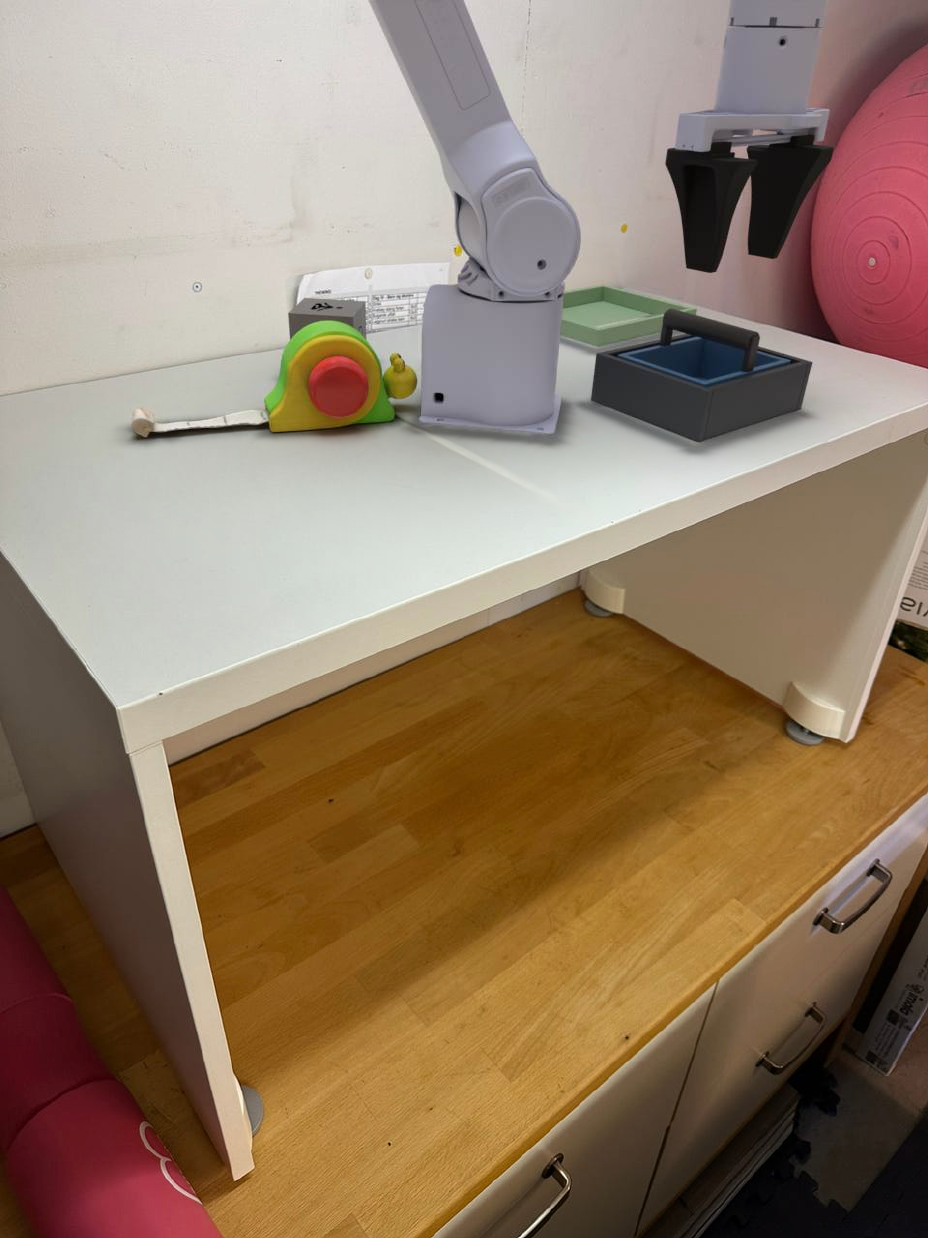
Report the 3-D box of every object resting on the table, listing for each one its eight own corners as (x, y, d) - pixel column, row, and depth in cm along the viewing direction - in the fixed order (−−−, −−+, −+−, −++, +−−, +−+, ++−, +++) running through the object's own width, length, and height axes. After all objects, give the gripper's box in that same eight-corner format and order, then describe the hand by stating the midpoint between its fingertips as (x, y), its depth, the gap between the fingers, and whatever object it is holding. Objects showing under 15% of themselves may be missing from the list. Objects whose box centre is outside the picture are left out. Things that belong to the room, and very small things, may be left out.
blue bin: (695, 433, 61) (712, 343, 58) (611, 400, 67) (622, 316, 63) (780, 406, 67) (800, 322, 64) (696, 378, 72) (710, 299, 69)
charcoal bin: (696, 448, 60) (707, 391, 58) (589, 406, 67) (595, 352, 65) (799, 414, 67) (813, 361, 65) (693, 378, 74) (701, 329, 71)
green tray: (596, 351, 79) (599, 329, 78) (504, 321, 87) (505, 301, 86) (693, 328, 87) (697, 308, 86) (601, 302, 95) (603, 284, 94)
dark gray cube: (308, 359, 74) (304, 297, 72) (367, 363, 74) (365, 301, 71) (292, 377, 70) (288, 312, 67) (355, 381, 70) (353, 316, 67)
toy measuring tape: (427, 429, 62) (429, 333, 58) (133, 451, 57) (115, 348, 53) (406, 398, 67) (406, 309, 63) (134, 416, 62) (117, 320, 58)
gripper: (767, 25, 48) (722, 287, 55) (891, 31, 56) (838, 259, 63) (661, 24, 52) (632, 268, 59) (791, 31, 60) (752, 244, 68)
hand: (732, 262), depth 62 cm, fingers open, 7 cm apart
